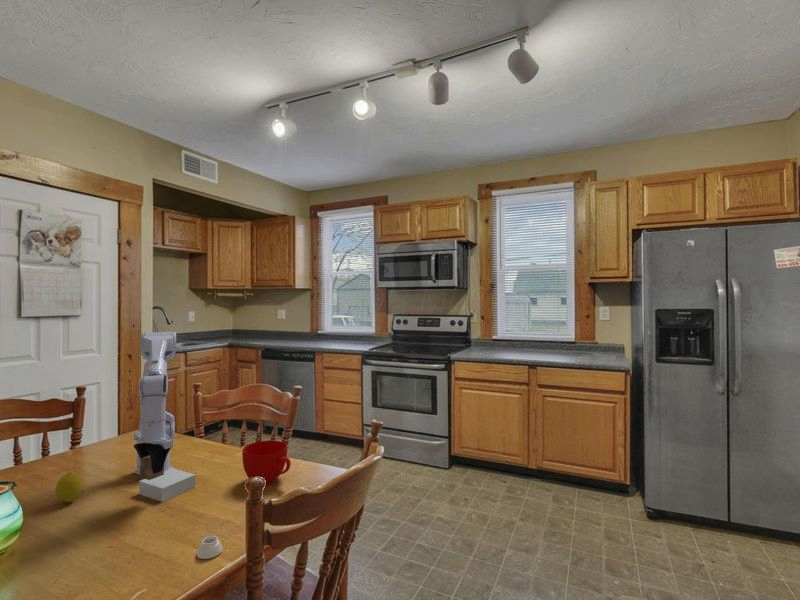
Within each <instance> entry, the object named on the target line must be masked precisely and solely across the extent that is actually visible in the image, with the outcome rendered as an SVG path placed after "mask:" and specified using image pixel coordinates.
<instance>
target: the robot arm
mask: <svg viewBox="0 0 800 600" xmlns="http://www.w3.org/2000/svg"><path fill="white" fill-rule="evenodd" d="M139 338H140V341H139V348H140V353H141V354H140V355H141V356H142V359H143V360H146V361H145V363H144V364H143V365H144V366H143V372H142V378H141V377H140V378H139V382H138V383H139V384H138V395H139V403H140V405H139V406H140V420H139V425H138V430H137V431H136V432H133V441H136V443H135V444H134V445H133V448H134V449H135V450H136V470H134V471H133V473H134V474H136V475H138V476H140V459H141V458H143V457H146V456H149V455H150V457H151V461H152V470H153V473H154V474H155V473H158V472H161V471H162V469H163V466H164V471H167V470H170V469H172V468H173V469H177V468H176V467H174V466H171V465H170V464H171V463H170V462H171V457H170V456H171V449H172V448H173V447H174V440H175V435H176V434H175V429H176V427H175V426H176V422H175V416H174V415H173V414H171V413H170V412H168V411H167V410H166V407H167V406H166V405H167V403H166V402H167V401H166V400H167V398H166V397H167V394H168V390H169V388H168V387H169V378H168V362H169V360H171V359H174V358H175V355H176V350H177V333H176V332H175V331H165V332H164V331H163V332H162V331H160V332H158V331H157V332H146V331H142V333H141V334H140V337H139Z"/></svg>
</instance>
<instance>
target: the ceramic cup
mask: <svg viewBox="0 0 800 600" xmlns="http://www.w3.org/2000/svg"><path fill="white" fill-rule="evenodd" d="M241 455H242V457H241V458H242V464H243V466H242V467H243V469H244V473H245V474H246V476H247V478H248V479H249V478H251V477H255V476H260V477H263V478H265V480H266V485H265V486H268V485H271V484H273V483H275V482H276V481H277V479H278V478H279V477H280V476H281V475H283V474H286V473H287V472H288V471H289V470H290V468H291V464H292V463H291V459H290V458H289V457H287V455H288V444H287V443H286V442H283V441H280V440H261V441H256V442H252V443H249V444H247V445H245V446H244V447H243V448H242V452H241ZM285 466H286V467H285Z"/></svg>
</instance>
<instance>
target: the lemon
mask: <svg viewBox="0 0 800 600" xmlns="http://www.w3.org/2000/svg"><path fill="white" fill-rule="evenodd" d="M82 489H83V481H82V478H81V476H80V475H79V474H78V473H73V472H71V471H70V472H67V473H66V474H64V475H62V476H61V477H60V478H59V480H58V481H57V483H56V486H55V495H56V498H57V499H58V500H59V501H62V502H65V503H68V504H69V503H71V502H72V501H73V500H75V499H76V498H78V496H79V495H80V494H81V493H82V491H83V490H82Z"/></svg>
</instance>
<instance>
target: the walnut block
mask: <svg viewBox="0 0 800 600" xmlns="http://www.w3.org/2000/svg"><path fill="white" fill-rule="evenodd" d="M162 475H164V466H163V469H162V471H161V472H158V473H155V474H154V473H153V470H152V461H151V457H150V455H149V456H146V457H143V458H141V459H140V475H139V477H140V478H142V479H147V480H151V479H154V478H156V477H159V476H162Z"/></svg>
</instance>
